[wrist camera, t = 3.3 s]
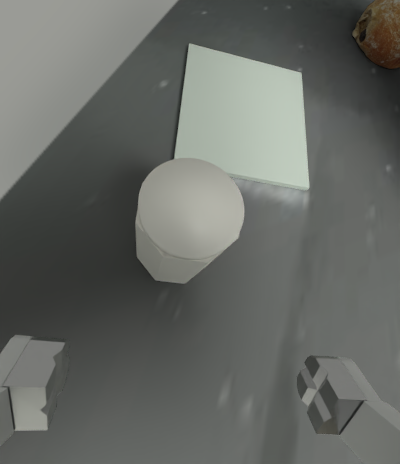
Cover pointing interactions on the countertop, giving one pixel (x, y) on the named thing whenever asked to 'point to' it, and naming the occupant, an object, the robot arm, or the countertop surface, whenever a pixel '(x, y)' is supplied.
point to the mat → (243, 118)
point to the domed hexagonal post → (186, 218)
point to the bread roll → (380, 33)
